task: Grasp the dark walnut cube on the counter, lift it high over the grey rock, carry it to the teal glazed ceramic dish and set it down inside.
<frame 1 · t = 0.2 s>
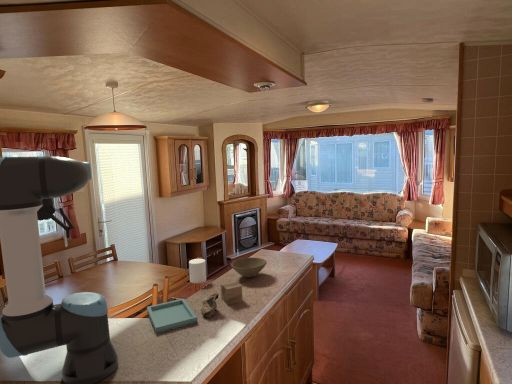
hand: (47, 248, 135), 28 cm above the kitchen counter, fingers open, 13 cm apart
mug: (196, 279, 172), on the kitchen counter
bowl: (249, 277, 174), on the kitchen counter
dish: (171, 317, 133), on the kitchen counter
rock: (209, 313, 136), on the kitchen counter
walnut cube: (231, 300, 147), on the kitchen counter
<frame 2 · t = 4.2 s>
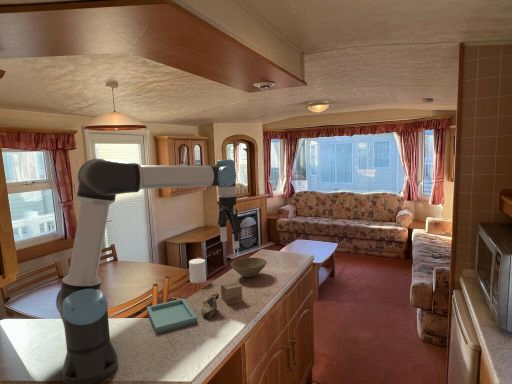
hand: (229, 244, 144), 25 cm above the kitchen counter, fingers open, 13 cm apart
nothing on the kitchen counter moved.
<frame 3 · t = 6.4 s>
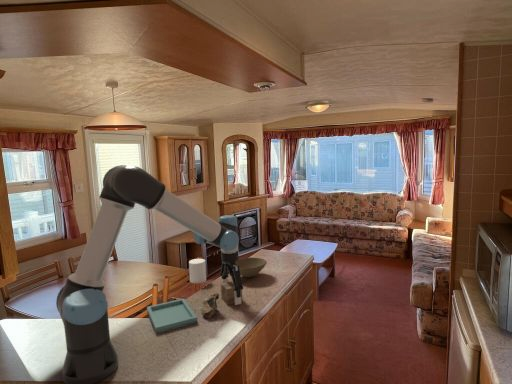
hand: (231, 298, 146), 1 cm above the kitchen counter, fingers open, 13 cm apart
nothing on the kitchen counter moved.
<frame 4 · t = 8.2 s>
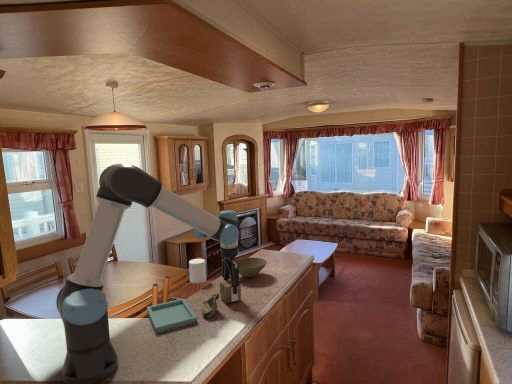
hand: (231, 297, 146), 1 cm above the kitchen counter, fingers closed on walnut cube, 7 cm apart
walnut cube: (230, 298, 146), point 1 cm above the kitchen counter, touching gripper
everything else where it was.
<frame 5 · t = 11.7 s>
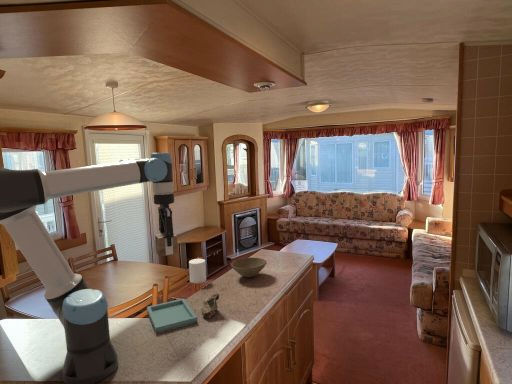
hand: (167, 251, 130), 27 cm above the kitchen counter, fingers closed on walnut cube, 7 cm apart
walnut cube: (166, 252, 130), point 26 cm above the kitchen counter, touching gripper
everything else where it was.
when the fingers open (2 cm above the kitchen counter, at t = 15.4 s): walnut cube stays where it is, resting on dish.
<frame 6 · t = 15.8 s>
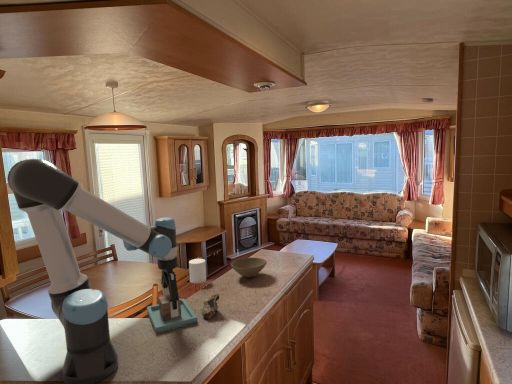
hand: (170, 309, 132), 3 cm above the kitchen counter, fingers open, 13 cm apart
walnut cube: (170, 315, 132), point 1 cm above the kitchen counter, touching dish
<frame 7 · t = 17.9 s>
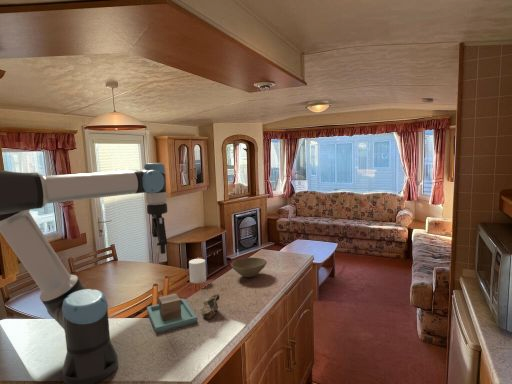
hand: (160, 256, 131), 25 cm above the kitchen counter, fingers open, 13 cm apart
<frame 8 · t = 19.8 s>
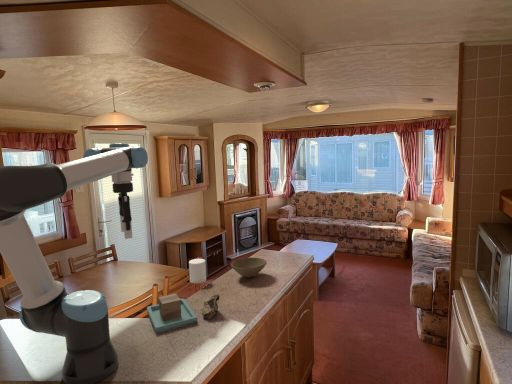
hand: (126, 234, 135), 33 cm above the kitchen counter, fingers open, 13 cm apart
at the end: walnut cube inside the target area on the dish (0.3 cm from its centre), point 0.8 cm above the dish's base; the gripper is holding nothing; walnut cube moved 27.4 cm from its start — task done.
